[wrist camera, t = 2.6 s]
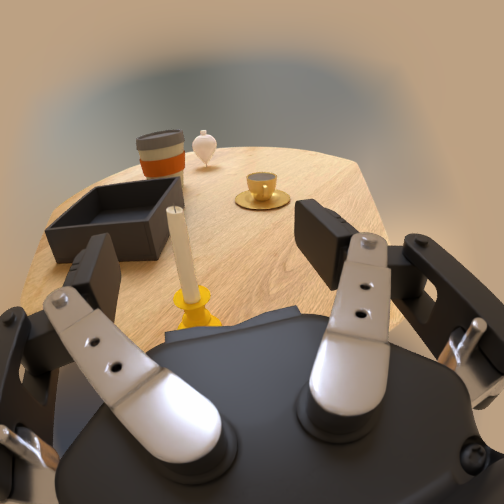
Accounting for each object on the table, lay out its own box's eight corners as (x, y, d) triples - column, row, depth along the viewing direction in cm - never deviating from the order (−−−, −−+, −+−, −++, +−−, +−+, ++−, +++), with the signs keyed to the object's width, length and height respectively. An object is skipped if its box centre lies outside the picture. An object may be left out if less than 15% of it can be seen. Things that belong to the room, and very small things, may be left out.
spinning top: (196, 164, 94) (192, 130, 88) (219, 162, 94) (216, 127, 88) (193, 170, 88) (188, 133, 81) (217, 168, 88) (214, 131, 81)
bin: (56, 263, 46) (44, 230, 42) (101, 213, 64) (95, 186, 61) (157, 260, 45) (148, 220, 42) (184, 206, 64) (180, 176, 60)
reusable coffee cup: (141, 200, 69) (130, 142, 61) (147, 184, 80) (139, 134, 72) (189, 192, 71) (182, 133, 63) (190, 178, 81) (184, 127, 73)
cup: (233, 192, 69) (231, 171, 66) (282, 188, 70) (282, 167, 67) (237, 213, 59) (236, 188, 56) (296, 208, 60) (296, 183, 57)
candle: (227, 318, 34) (211, 191, 26) (216, 352, 30) (191, 216, 21) (185, 314, 35) (159, 192, 27) (171, 345, 30) (132, 216, 22)
